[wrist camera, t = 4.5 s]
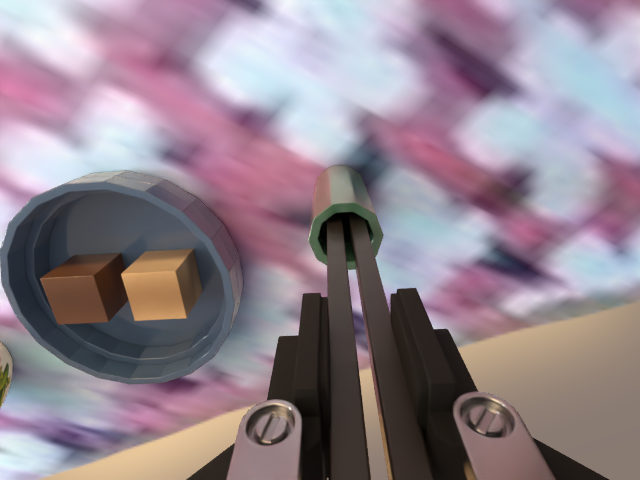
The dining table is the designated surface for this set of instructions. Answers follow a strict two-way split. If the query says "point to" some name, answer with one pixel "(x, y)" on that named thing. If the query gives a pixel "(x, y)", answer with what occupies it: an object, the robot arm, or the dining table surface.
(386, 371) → the chopsticks
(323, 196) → the holder
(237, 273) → the bowl
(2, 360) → the pitcher
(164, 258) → the beech block
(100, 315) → the walnut block
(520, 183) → the dining table surface
